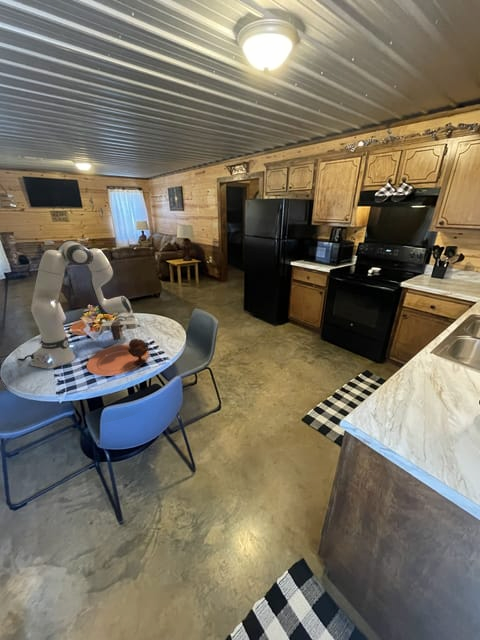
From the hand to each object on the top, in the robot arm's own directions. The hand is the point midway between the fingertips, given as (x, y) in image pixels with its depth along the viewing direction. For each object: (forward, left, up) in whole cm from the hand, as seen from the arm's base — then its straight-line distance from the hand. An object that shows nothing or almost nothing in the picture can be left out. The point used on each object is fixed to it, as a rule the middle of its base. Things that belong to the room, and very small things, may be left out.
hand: (116, 330), depth 151 cm
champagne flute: (-52, +22, -17) cm, 59 cm away
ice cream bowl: (+15, -6, -17) cm, 23 cm away
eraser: (0, +1, -5) cm, 5 cm away
